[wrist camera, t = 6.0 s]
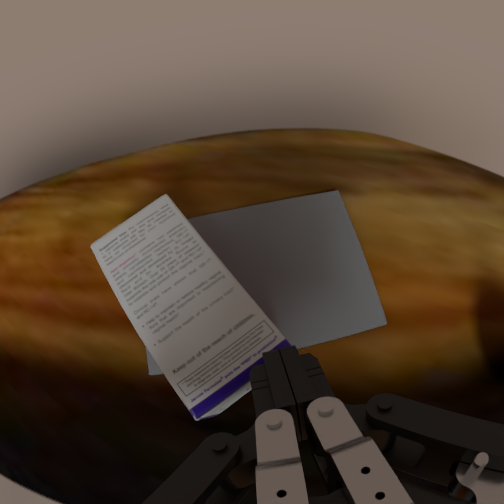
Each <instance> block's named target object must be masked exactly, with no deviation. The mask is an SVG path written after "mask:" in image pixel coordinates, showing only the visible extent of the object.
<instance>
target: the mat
mask: <svg viewBox="0 0 504 504" xmlns="http://www.w3.org/2000/svg"><path fill="white" fill-rule="evenodd" d="M187 220H188V221H189V222H190V223H191V225H192V226H193V227H194V228H195V230H196V231H197V232H198V233H199V235H200V236H201V237H202V238H203V240H204V241H205V242H206V243H207V244H208V245H209V247H210V248H211V249H212V250H213V251H214V253H215V254H216V255H217V257H218V258H219V259H220V260H221V261H222V263H223V264H224V265H225V266H226V268H227V269H228V270H229V271H230V272H231V274H232V275H233V276H234V277H235V279H236V280H237V281H238V282H239V283H240V285H241V286H242V287H243V288H244V289H245V290H246V292H247V293H248V294H249V295H250V297H251V298H252V299H253V300H254V301H255V302H256V304H257V305H258V306H259V307H260V308H261V310H262V311H263V312H264V313H265V314H266V316H267V317H268V318H269V319H270V320H271V321H272V323H273V324H274V325H275V326H276V327H277V328H278V330H279V331H280V332H281V333H282V335H283V336H284V337H285V338H286V339H287V340H288V342H289V343H290V344H291V346H293V345H295V346H296V348H297V349H299V348H303V347H307V346H311V345H315V344H319V343H323V342H327V341H331V340H335V339H338V338H342V337H346V336H349V335H353V334H356V333H360V332H363V331H366V330H370V329H373V328H376V327H380V326H383V325H385V324H387V321H386V318H385V315H384V312H383V308H382V305H381V302H380V299H379V296H378V293H377V290H376V287H375V284H374V282H373V279H372V276H371V273H370V270H369V267H368V265H367V262H366V259H365V256H364V254H363V251H362V248H361V246H360V243H359V240H358V238H357V235H356V233H355V230H354V227H353V225H352V222H351V220H350V217H349V215H348V212H347V210H346V208H345V205H344V203H343V200H342V198H341V196H340V193H339V191H338V190H337V191H331V192H325V193H319V194H313V195H307V196H301V197H296V198H290V199H285V200H279V201H274V202H268V203H263V204H258V205H253V206H247V207H242V208H237V209H232V210H227V211H222V212H217V213H213V214H208V215H203V216H198V217H193V218H189V219H187ZM146 353H147V361H148V368H149V375H158V374H163V372H162V371H161V369H160V368H159V366H158V364H157V363H156V361H155V360H154V358H153V357H152V355H151V354H150V352H149V350H148V349H147V347H146Z"/></svg>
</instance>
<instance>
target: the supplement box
mask: <svg viewBox="0 0 504 504" xmlns="http://www.w3.org/2000/svg"><path fill="white" fill-rule="evenodd" d="M91 249H92V250H93V252H94V254H95V257H96V259H97V261H98V263H99V265H100V267H101V269H102V270H103V272H104V274H105V276H106V278H107V280H108V282H109V284H110V286H111V287H112V289H113V291H114V293H115V295H116V297H117V299H118V300H119V302H120V304H121V306H122V307H123V309H124V311H125V313H126V314H127V316H128V318H129V319H130V321H131V323H132V324H133V326H134V328H135V330H136V331H137V333H138V335H139V336H140V338H141V339H142V341H143V343H144V344H145V346H146V347H147V349H148V350H149V352H150V354H151V355H152V357H153V358H154V360H155V361H156V363H157V364H158V366H159V368H160V369H161V371H162V372H163V374H164V375H165V376H166V378H167V379H168V381H169V382H170V384H171V385H172V387H173V388H174V390H175V391H176V393H177V394H178V396H179V397H180V398H181V400H182V401H183V403H184V404H185V405H186V407H187V408H188V410H189V411H190V413H191V414H192V416H193V417H194V419H195V420H196V421H198V420H202V419H205V418H209V417H213V416H217V415H218V414H219V413H221V412H222V411H224V410H225V409H226V408H228V407H229V406H230V405H232V404H233V403H234V402H236V401H237V400H238V399H239V398H241V397H242V396H243V395H245V394H246V393H247V392H249V391H250V390H251V383H250V377H249V373H250V371H251V369H252V366H255V365H260V364H264V361H263V356H262V352H267V351H272V350H276V349H278V350H279V349H280V348H285V347H289V346H291V344H290V343H289V342H288V340H287V339H286V338H285V337H284V336H283V335H282V333H281V332H280V331H279V330H278V328H277V327H276V326H275V325H274V324H273V323H272V321H271V320H270V319H269V318H268V317H267V316H266V314H265V313H264V312H263V311H262V310H261V308H260V307H259V306H258V305H257V304H256V302H255V301H254V300H253V299H252V298H251V297H250V295H249V294H248V293H247V292H246V290H245V289H244V288H243V287H242V286H241V285H240V283H239V282H238V281H237V280H236V279H235V277H234V276H233V275H232V274H231V272H230V271H229V270H228V269H227V268H226V266H225V265H224V264H223V263H222V261H221V260H220V259H219V258H218V257H217V255H216V254H215V253H214V251H213V250H212V249H211V248H210V247H209V245H208V244H207V243H206V242H205V241H204V240H203V238H202V237H201V236H200V235H199V233H198V232H197V231H196V230H195V228H194V227H193V226H192V225H191V223H190V222H189V221H188V220H187V219H186V217H185V216H184V215H183V214H182V212H181V211H180V210H179V209H178V207H177V206H176V205H175V204H174V202H173V201H172V200H171V198H170V197H169V196H168V195H167V194H165V195H163V196H161V197H160V198H158V199H157V200H155V201H154V202H152V203H151V204H149V205H148V206H146V207H145V208H143V209H142V210H140V211H139V212H137V213H136V214H135V215H133V216H132V217H130V218H129V219H127V220H126V221H124V222H123V223H121V224H120V225H118V226H117V227H116V228H114V229H113V230H111V231H109V232H108V233H107V234H105V235H104V236H102V237H101V238H99V239H98V240H96V241H95V242H94V243H92V244H91ZM279 354H280V353H279Z"/></svg>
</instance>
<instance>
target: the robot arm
mask: <svg viewBox="0 0 504 504" xmlns="http://www.w3.org/2000/svg"><path fill="white" fill-rule="evenodd" d="M279 353H280V354H279ZM262 356H263V361H264V364H260V365H255V366H252V369H251V371H250V373H249V377H250V383H251V389H252V394H253V400H254V406H255V412H256V421H255V423H254V425H253V426H252V427H251V428H250V429H249V430H247V431H246V432H244V433H242V434H240V435H237V436H233V435H232V434H229V433H216V434H213V435H211V436H209V437H207V438H206V439H205V440H204V441H203V442H202V443H201V444H200V445H199V447H198V448H197V449H196V450H195V451H194V452H193V453H192V454H191V455H190V456H189V457H188V458H187V459H186V460H185V461H184V462H183V463H182V464H181V465H180V467H179V468H178V469H177V470H176V471H175V472H174V473H173V474H172V475H171V476H170V477H169V478H168V479H167V480H166V481H165V482H164V483H163V484H162V485H161V486H160V487H159V488H158V489H157V490H156V491H155V492H154V493H153V494H152V495H150V496H149V497H148V498H147V499H146V500H145V501H144V502H143V503H142V504H239V503H240V501H241V500H242V499H243V498H244V496H245V495H246V494H247V492H248V491H249V490H250V488H251V487H252V484H253V483H255V482H256V489H257V504H504V425H503V424H498V423H494V422H490V421H486V420H482V419H477V418H474V417H470V416H466V415H462V414H458V413H454V412H451V411H447V410H444V409H440V408H437V407H433V406H430V405H426V404H423V403H420V402H416V401H413V400H410V399H407V398H403V397H400V396H397V395H394V394H390V393H381V394H377V395H375V396H373V397H372V398H371V399H370V400H369V401H368V402H367V404H364V405H348V404H345V403H342V402H341V401H340V400H339V399H337V398H336V397H335V395H334V393H333V391H332V389H331V387H330V385H329V383H328V381H327V379H326V376H325V374H324V372H323V370H322V368H321V366H320V364H319V362H318V360H317V358H315V357H314V356H313V355H311V354H310V353H307V354H303V355H299V353H298V350H297V348H296V346H295V345H293V346H289V347H285V348H280V349H279V350H278V349H276V350H272V351H267V352H262ZM300 434H301V437H302V440H306V439H308V440H309V443H310V446H311V454H312V456H313V459H314V461H315V463H316V465H317V468H318V470H319V472H320V474H321V477H322V479H323V481H324V483H325V486H326V488H327V492H328V495H326V496H320V497H307V491H306V485H305V480H304V474H303V469H302V464H301V459H300V455H299V454H300V451H299V444H298V441H301V438H300ZM391 467H393V468H395V469H398V470H401V471H403V472H406V473H409V474H412V475H415V476H417V477H420V478H423V479H426V480H429V481H432V482H435V483H439V484H442V485H445V486H448V490H449V493H450V494H451V495H448V494H445V493H442V492H439V491H436V490H434V489H431V488H428V487H426V486H423V485H420V484H418V483H415V482H413V481H410V480H406V479H400V478H397V476H396V475H395V473H394V472H393V470H392V469H391Z"/></svg>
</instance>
